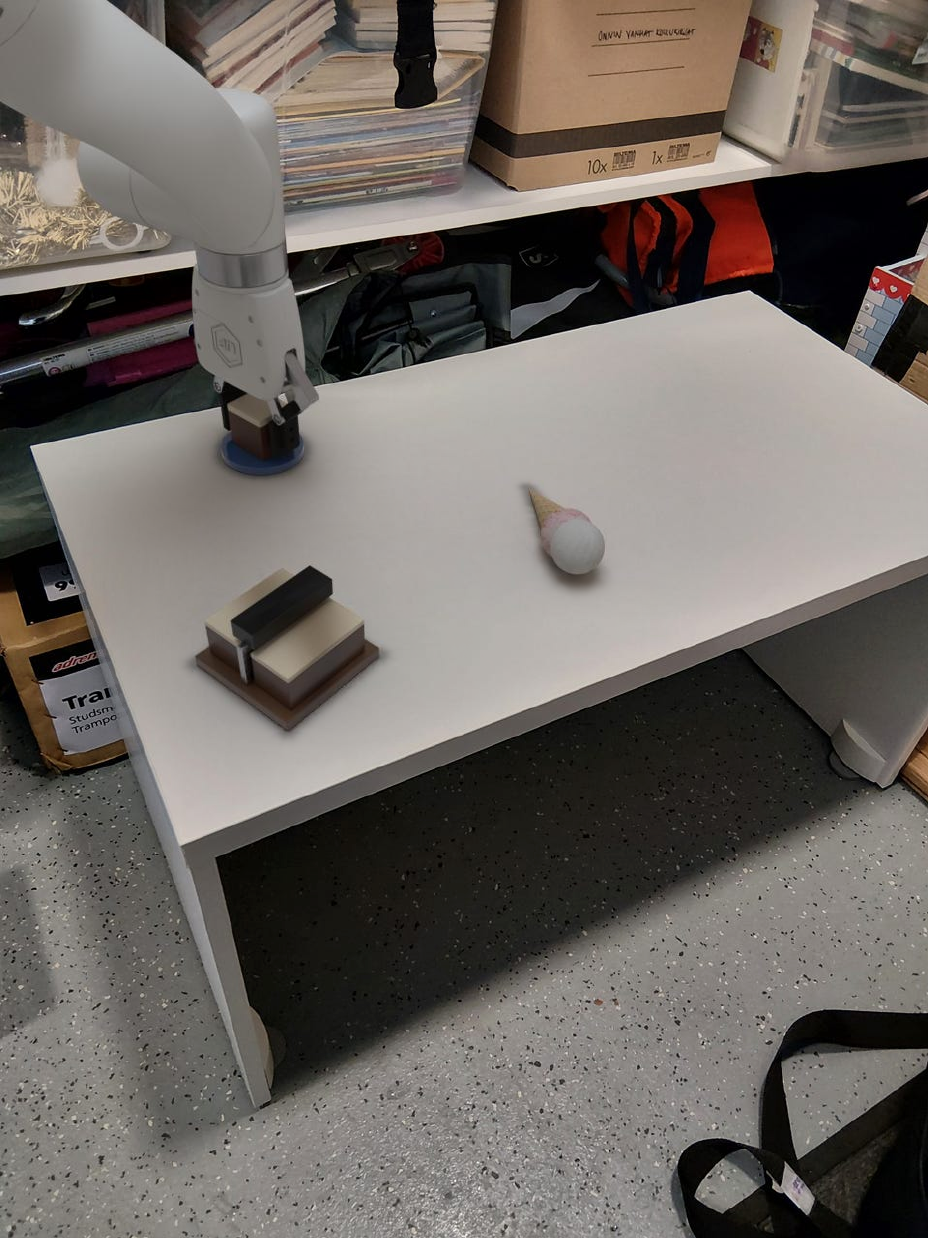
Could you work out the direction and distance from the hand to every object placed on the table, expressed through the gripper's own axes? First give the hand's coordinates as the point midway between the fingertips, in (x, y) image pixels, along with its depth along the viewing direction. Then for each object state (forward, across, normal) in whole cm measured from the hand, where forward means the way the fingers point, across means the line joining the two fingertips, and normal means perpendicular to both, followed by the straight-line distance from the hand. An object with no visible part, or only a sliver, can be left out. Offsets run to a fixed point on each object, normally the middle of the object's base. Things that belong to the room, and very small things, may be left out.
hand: (261, 436), depth 91 cm
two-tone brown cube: (+1, 0, 0) cm, 1 cm away
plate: (+2, 0, 0) cm, 2 cm away
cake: (+2, +22, -18) cm, 28 cm away
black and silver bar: (+1, +22, -18) cm, 28 cm away
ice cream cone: (+2, +29, +8) cm, 30 cm away
